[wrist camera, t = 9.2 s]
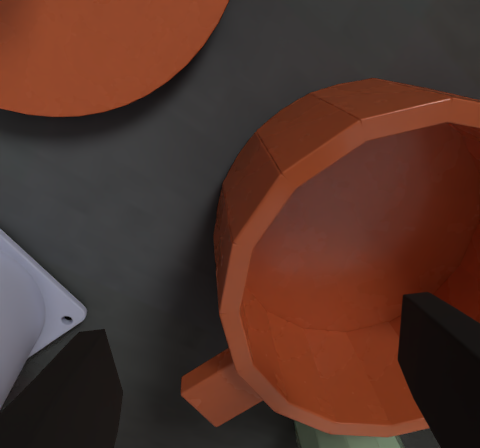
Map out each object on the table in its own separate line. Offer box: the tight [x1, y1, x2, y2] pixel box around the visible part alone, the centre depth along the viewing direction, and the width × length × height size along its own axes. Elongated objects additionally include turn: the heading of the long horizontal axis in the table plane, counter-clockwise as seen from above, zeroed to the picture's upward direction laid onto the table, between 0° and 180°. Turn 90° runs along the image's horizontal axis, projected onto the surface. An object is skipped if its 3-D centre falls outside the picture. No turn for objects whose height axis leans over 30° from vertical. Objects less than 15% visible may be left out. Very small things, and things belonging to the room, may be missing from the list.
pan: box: [181, 78, 480, 437], centre depth 17 cm, size 13×19×6 cm
